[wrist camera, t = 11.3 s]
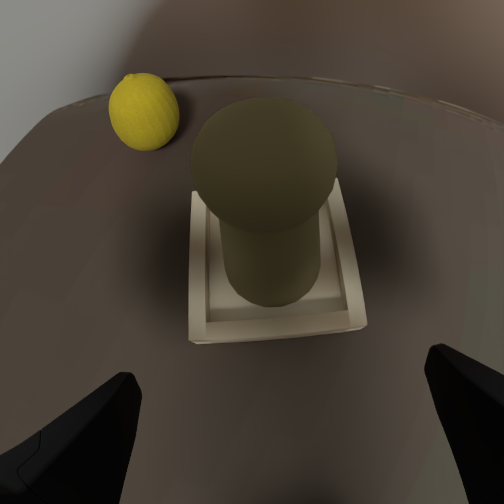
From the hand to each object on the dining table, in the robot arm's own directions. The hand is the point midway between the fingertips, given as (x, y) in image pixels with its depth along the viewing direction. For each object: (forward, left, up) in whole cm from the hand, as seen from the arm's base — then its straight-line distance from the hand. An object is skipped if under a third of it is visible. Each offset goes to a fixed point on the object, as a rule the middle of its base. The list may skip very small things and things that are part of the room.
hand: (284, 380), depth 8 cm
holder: (+7, -2, -9) cm, 12 cm away
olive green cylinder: (+7, -2, -9) cm, 12 cm away
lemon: (+21, +3, -10) cm, 23 cm away
